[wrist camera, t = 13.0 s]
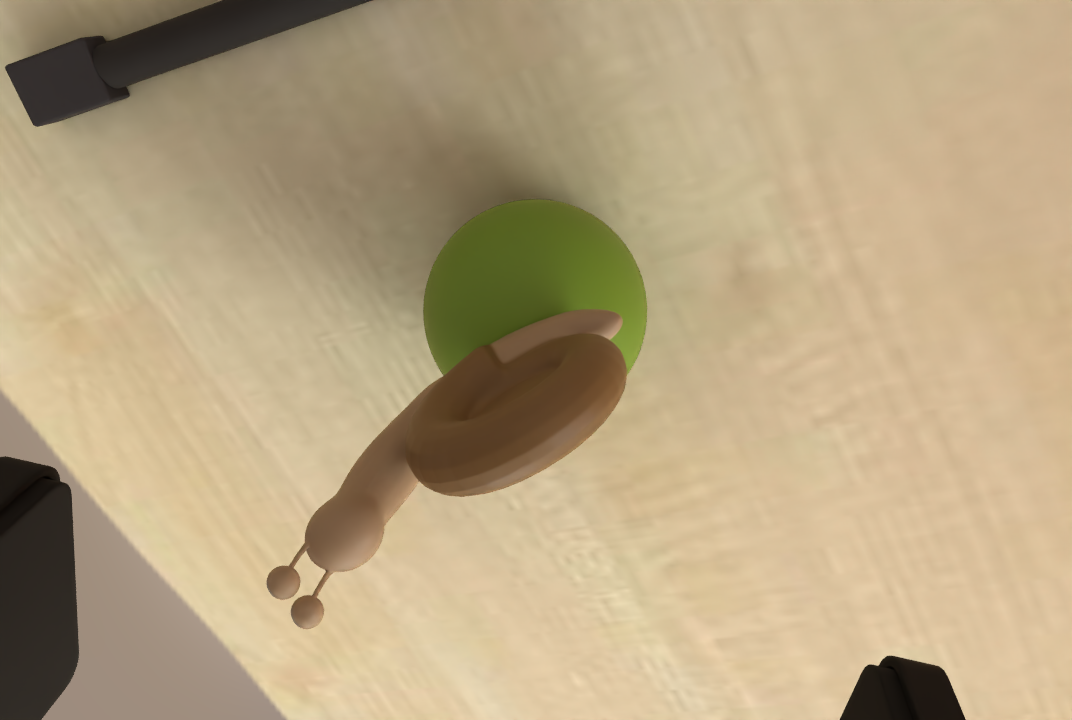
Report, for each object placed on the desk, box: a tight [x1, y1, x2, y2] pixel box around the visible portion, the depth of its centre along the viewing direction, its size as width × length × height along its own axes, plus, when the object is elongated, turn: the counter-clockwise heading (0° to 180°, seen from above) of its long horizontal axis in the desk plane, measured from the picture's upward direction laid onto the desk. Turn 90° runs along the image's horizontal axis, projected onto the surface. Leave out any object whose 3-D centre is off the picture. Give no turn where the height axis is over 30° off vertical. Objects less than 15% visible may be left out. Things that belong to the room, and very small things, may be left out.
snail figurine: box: [267, 199, 647, 629], centre depth 19 cm, size 5×6×12 cm
